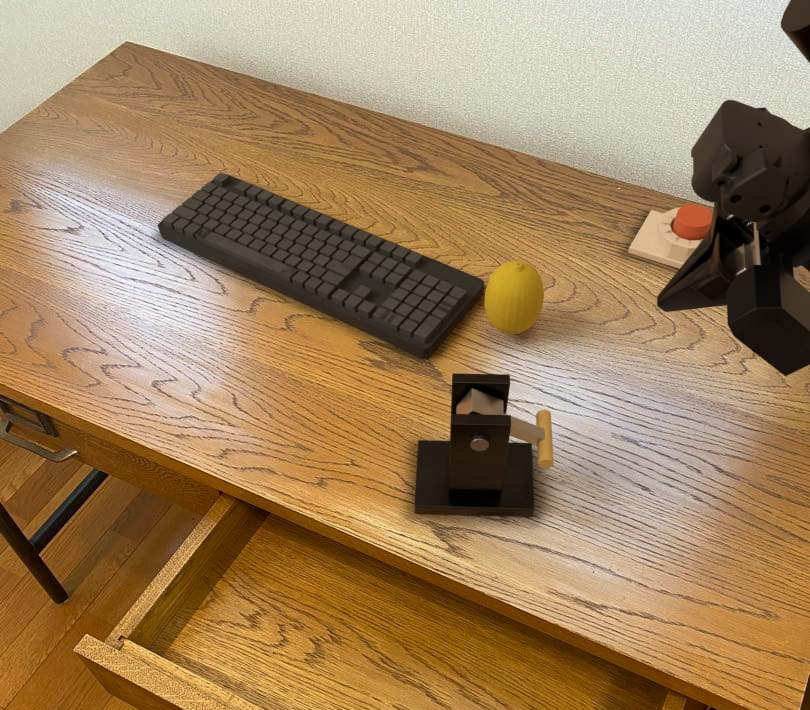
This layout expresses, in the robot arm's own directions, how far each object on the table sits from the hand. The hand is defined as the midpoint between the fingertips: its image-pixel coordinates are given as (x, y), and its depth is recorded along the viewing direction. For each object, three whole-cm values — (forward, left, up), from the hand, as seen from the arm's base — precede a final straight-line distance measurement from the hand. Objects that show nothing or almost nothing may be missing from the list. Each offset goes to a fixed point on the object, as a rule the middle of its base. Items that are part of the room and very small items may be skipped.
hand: (660, 305), depth 54 cm
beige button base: (-16, -22, -15) cm, 31 cm away
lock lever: (+12, +2, -8) cm, 15 cm away
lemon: (+5, -15, -15) cm, 22 cm away
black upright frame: (+14, +2, -15) cm, 20 cm away
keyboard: (+22, -30, -15) cm, 40 cm away
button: (-16, -22, -13) cm, 30 cm away
